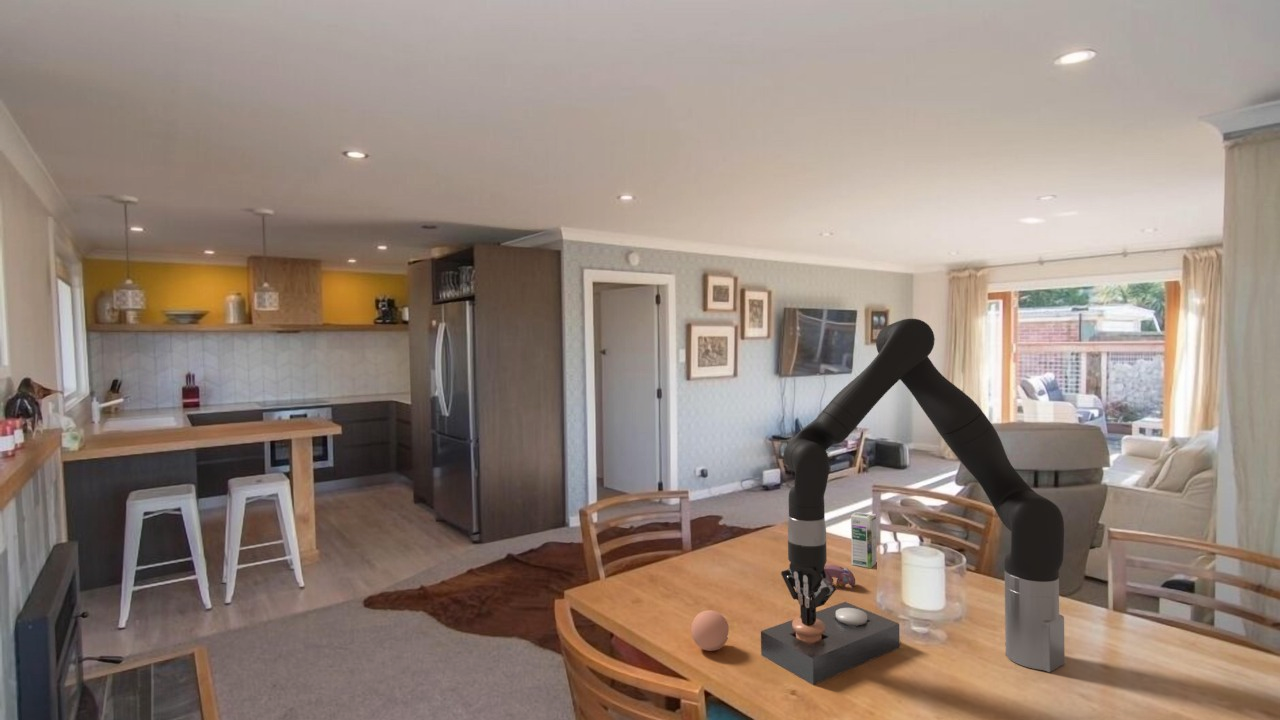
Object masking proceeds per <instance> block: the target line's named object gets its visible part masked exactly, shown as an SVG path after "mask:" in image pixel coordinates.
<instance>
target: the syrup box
mask: <svg viewBox="0 0 1280 720" xmlns="http://www.w3.org/2000/svg"><path fill="white" fill-rule="evenodd" d="M850 529H851V530H850V535H851V536H850V537H851V566H858V567H862V568H868V569H872V568H873V567H874V566H875V565H876V564H877V563H876V560H877V559H878V558H877V557H878V555H877V554H878V553H877V515H876V513H873V514H872V513H867V512H866V513H865V512H860V511H859V512H858V511H857V512H854V513H853V514H851V516H850ZM877 561H878V560H877Z"/></svg>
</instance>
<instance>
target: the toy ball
mask: <svg viewBox="0 0 1280 720" xmlns="http://www.w3.org/2000/svg"><path fill="white" fill-rule="evenodd" d="M690 627H691V629H690V630H691V637H692V639H693V641H694V643H695V644H696V645H697V646H698V647H699V648H700V649H702V650H704V651H708V652H713V651H717V650H720V649H721V648H722V647H724V646H725V644H726V643H727V641H728V639H729V637H728V635H729V630H730V628H729V623H728V621H727V620H726V618H725V617H724V615H722V613H719V612H718V611H716V610H713V609H712V610H711V609H710V610H709V609H707V610H703V611H701V612H699V613H698V614H696V616H695V617H694V618H693V620H692V624H691V626H690Z"/></svg>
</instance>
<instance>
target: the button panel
mask: <svg viewBox="0 0 1280 720" xmlns="http://www.w3.org/2000/svg"><path fill="white" fill-rule="evenodd" d="M841 608H855V609H859V610H861V611H864V612H865V613H866V614H867V622H866V623H865V624H862V625H859V626H856V627H854V628H853V627H851V626H849V625H846V624H844V623H842V622H840V621H838V620H837V619H836V610H838V609H841ZM816 619H819V620H821V621H822V622H824V624H825V632H824V633H823V634H822V640H820V641H817V642H815V643H812V644H808V643H806V642H804V641H802V640H800V639H798V638H796V632H795V631H794V630H793V628H792V621H793V620H794V619H791V620H788V621H786V622H783V623H779V624H777V625H775V626H771V627H769V628H765V629H762V630H761V631H760V650H761V651H760V655H761V656H762V657H764V658H765V659H768V660H769V661H771V662H773V663H774V664H776V665H778V666H779V667H781V668H783V669H785V670H786V671H788V672H790V673H791V674H794V675H796V676H797V677H799V678H801V679H802V680H804V681H805V682H807V683H809V684H811V685H813V686H814V685H816V684H818V683H821V682H823V681H826V680H828V679H831V678H832V677H834V676H837V675H839V674H841V673H844V672H846V671H848V670H851V669H854V668H855V667H857V666H860V665H863V664H864V663H865V664H866V663H867V662H869V661H872V660H873V659H876V658H878V657H882V656H883V655H885V654H887V653H890V652H892V651H895V650H896V649H899V648H900V647H901V646H900V643H901V641H900V640H901V639H900V638H901V637H900V623H899V622H896V621H894V620H892V619H889V618H886V617H884V616H882V615H879V614H877V613H874V612H872V611H869V610H866V609H864V608H861V607H860V606H859V607H858V606H857V605H854V604H852V603H849V602H847V601H843V602H840V603H838V604H835V605H832V606H829V607H826V608H823V609H820V610H816Z"/></svg>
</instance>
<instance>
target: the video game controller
mask: <svg viewBox="0 0 1280 720" xmlns="http://www.w3.org/2000/svg"><path fill="white" fill-rule="evenodd" d="M824 570H825V573H826V580H827V581H828V583H829V584H830V585H834V579H836V582H835V583H836V586H837V587H839V588H845V586H846V585H849V586H851V587H855V585H856V578H855V575H854V573H853V572H852V571H851V570H850V568H848V567H845V568H844V567H842V566H839V565H836V564H829V565H827V564H826V565H825V566H824Z"/></svg>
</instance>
